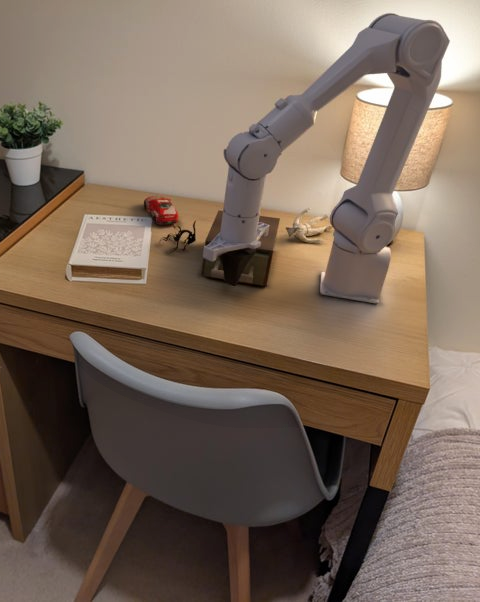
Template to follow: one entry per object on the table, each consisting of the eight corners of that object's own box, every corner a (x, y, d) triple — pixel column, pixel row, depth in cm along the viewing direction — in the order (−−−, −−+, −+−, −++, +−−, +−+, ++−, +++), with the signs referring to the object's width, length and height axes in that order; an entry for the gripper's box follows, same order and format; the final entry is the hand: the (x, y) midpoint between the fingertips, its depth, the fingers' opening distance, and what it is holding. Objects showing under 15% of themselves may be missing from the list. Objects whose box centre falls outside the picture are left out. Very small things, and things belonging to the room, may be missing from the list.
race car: (141, 205, 135) (142, 189, 133) (163, 203, 135) (164, 187, 133) (156, 228, 124) (157, 211, 122) (180, 226, 124) (181, 209, 122)
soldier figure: (338, 239, 120) (314, 240, 112) (317, 249, 123) (292, 250, 115) (324, 206, 122) (299, 205, 113) (304, 217, 125) (278, 216, 117)
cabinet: (266, 286, 103) (273, 250, 99) (201, 275, 106) (205, 240, 102) (273, 251, 114) (280, 218, 110) (214, 243, 118) (218, 210, 114)
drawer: (260, 299, 98) (265, 270, 94) (198, 288, 101) (201, 260, 98) (270, 252, 112) (275, 226, 109) (215, 244, 115) (219, 218, 112)
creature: (158, 258, 114) (198, 254, 112) (154, 235, 112) (194, 229, 110) (161, 241, 121) (199, 236, 119) (157, 218, 118) (195, 213, 116)
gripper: (232, 231, 83) (221, 308, 91) (290, 206, 91) (275, 279, 98) (196, 217, 88) (188, 291, 95) (253, 194, 96) (242, 264, 103)
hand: (230, 284), depth 97 cm, fingers closed, pressing on drawer
